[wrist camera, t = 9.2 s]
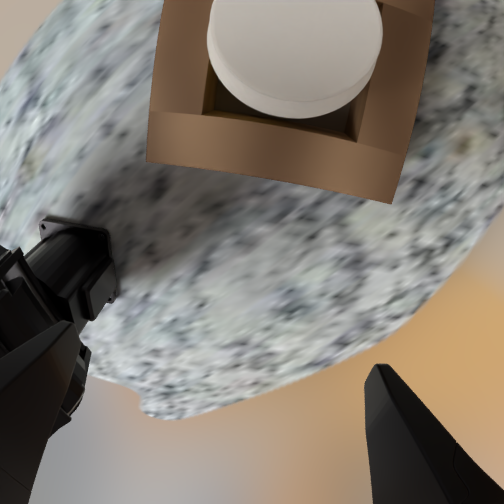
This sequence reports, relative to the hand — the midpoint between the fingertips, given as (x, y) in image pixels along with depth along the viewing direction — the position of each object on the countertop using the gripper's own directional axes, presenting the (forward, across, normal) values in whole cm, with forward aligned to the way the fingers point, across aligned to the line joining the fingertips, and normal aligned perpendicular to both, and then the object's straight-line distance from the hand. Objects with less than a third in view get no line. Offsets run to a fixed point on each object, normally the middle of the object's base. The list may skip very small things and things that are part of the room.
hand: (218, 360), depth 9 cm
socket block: (+12, -1, -9) cm, 15 cm away
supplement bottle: (+12, -1, -9) cm, 14 cm away
